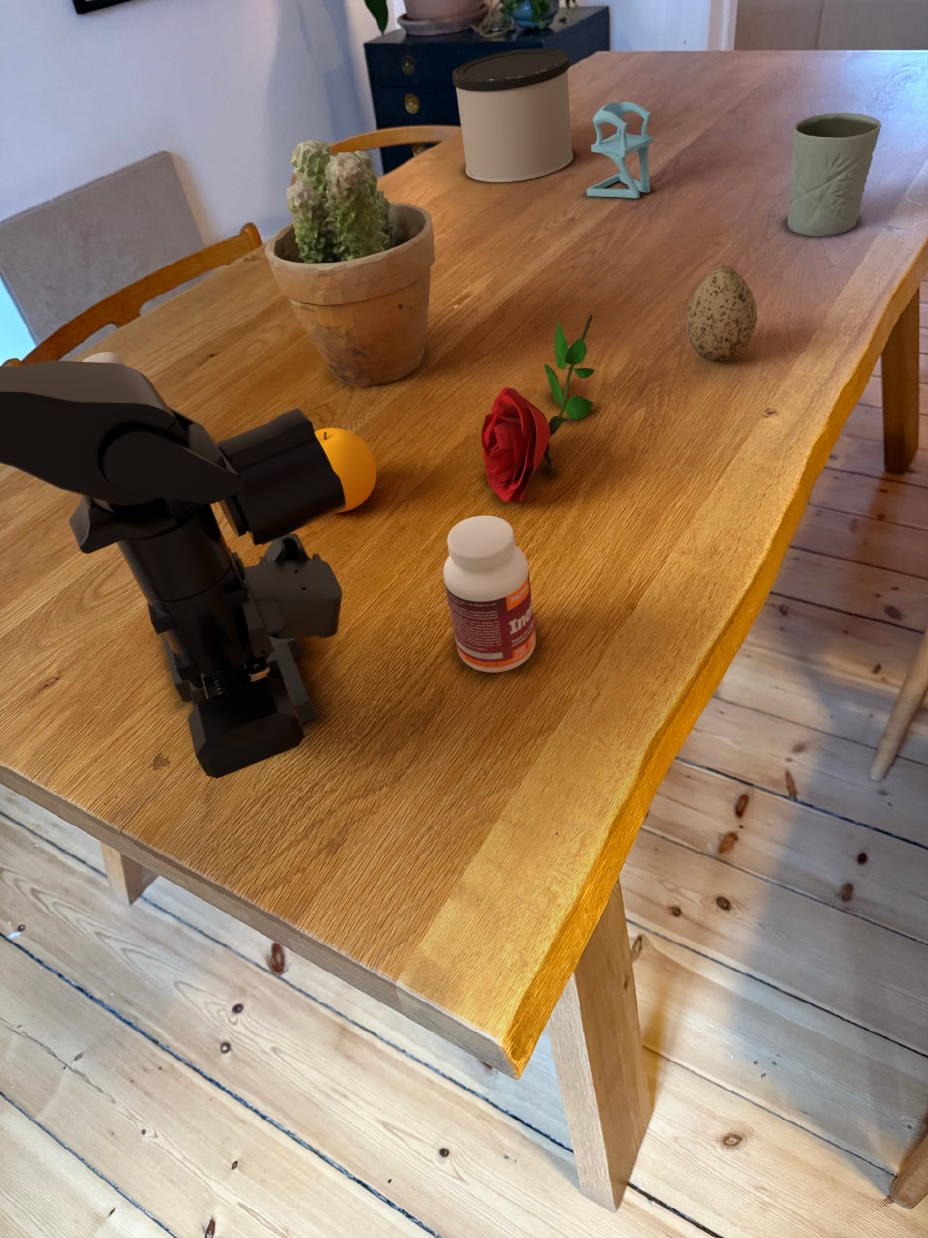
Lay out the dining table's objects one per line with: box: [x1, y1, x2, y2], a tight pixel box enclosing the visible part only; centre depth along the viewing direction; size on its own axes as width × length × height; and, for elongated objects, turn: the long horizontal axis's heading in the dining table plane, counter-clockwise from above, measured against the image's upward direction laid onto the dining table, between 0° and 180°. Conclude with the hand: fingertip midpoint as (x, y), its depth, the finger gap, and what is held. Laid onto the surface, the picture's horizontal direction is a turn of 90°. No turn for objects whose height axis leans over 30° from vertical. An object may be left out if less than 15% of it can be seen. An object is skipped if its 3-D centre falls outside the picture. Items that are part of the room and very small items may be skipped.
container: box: [451, 48, 574, 183], centre depth 149 cm, size 19×19×15 cm
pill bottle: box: [442, 515, 537, 673], centre depth 66 cm, size 6×6×11 cm
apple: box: [315, 427, 377, 514], centre depth 84 cm, size 8×8×8 cm
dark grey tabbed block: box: [189, 643, 317, 725], centre depth 69 cm, size 8×10×2 cm
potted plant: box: [264, 139, 436, 388], centre depth 98 cm, size 18×19×25 cm
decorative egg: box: [685, 265, 758, 362], centre depth 93 cm, size 7×7×10 cm
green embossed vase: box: [787, 112, 882, 237], centre depth 114 cm, size 10×10×12 cm
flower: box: [480, 314, 596, 503], centre depth 89 cm, size 9×9×30 cm
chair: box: [586, 101, 654, 199], centre depth 133 cm, size 8×8×12 cm
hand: (262, 735), depth 65 cm, fingers closed
